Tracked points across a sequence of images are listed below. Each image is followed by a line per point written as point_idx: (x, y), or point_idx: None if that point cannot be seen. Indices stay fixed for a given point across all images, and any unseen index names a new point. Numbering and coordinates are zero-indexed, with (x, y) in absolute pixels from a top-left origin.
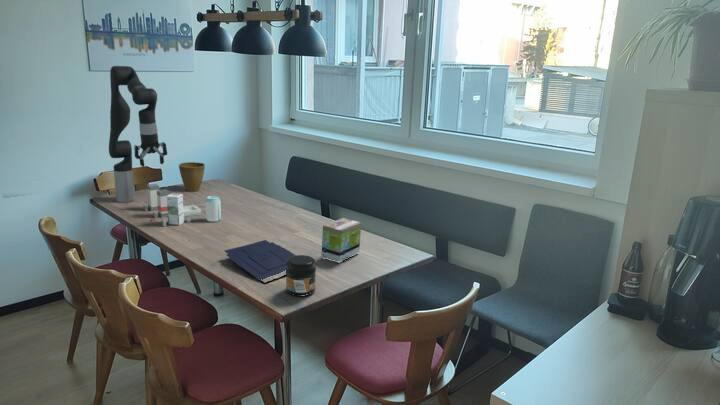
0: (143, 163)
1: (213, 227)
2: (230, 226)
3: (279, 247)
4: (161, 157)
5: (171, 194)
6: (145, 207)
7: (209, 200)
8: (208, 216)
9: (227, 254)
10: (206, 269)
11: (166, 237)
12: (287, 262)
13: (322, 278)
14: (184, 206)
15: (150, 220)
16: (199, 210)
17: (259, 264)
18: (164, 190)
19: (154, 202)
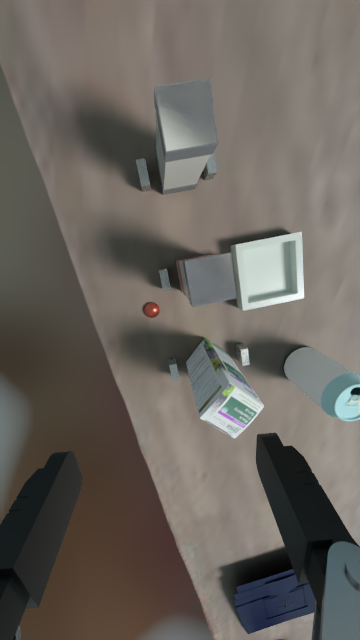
0: (59, 529)
1: (278, 414)
2: (314, 418)
3: None
4: (306, 574)
5: (222, 406)
6: (142, 187)
7: (331, 413)
8: (293, 381)
9: (236, 594)
10: (194, 587)
11: (163, 448)
12: (305, 604)
13: None
14: (270, 241)
15: (145, 313)
16: (296, 298)
17: (266, 611)
18: (219, 272)
19: (178, 181)
